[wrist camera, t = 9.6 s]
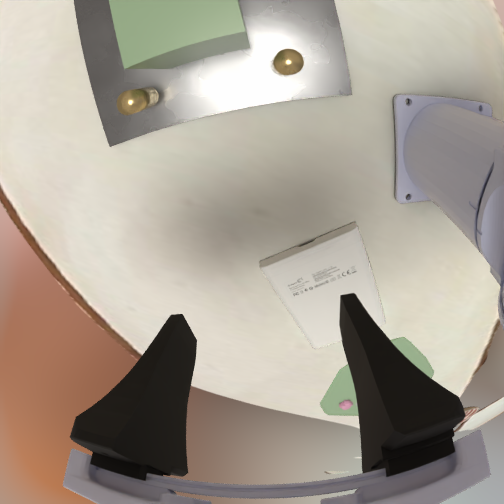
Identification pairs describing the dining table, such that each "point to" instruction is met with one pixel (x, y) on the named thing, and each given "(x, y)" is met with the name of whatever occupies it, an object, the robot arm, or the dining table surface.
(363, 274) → the external hard drive
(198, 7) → the board block
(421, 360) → the plant
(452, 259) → the dining table surface
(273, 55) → the chassis
